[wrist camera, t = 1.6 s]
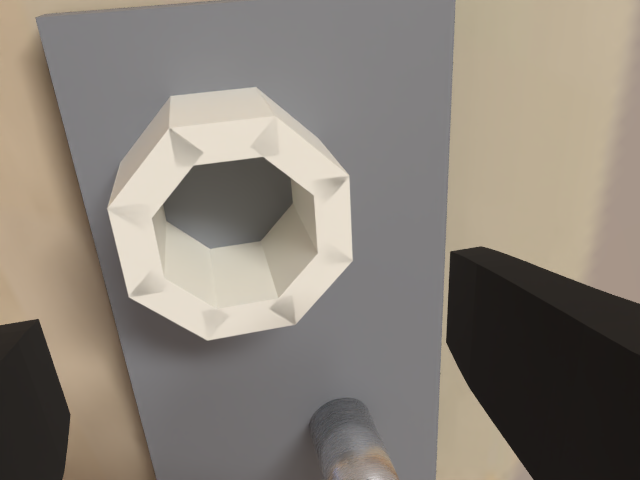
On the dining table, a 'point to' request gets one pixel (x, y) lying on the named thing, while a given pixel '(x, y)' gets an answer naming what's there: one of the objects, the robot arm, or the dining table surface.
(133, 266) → the cream ring
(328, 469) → the steel post
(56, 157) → the dining table surface
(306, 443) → the gray board
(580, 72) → the dining table surface
